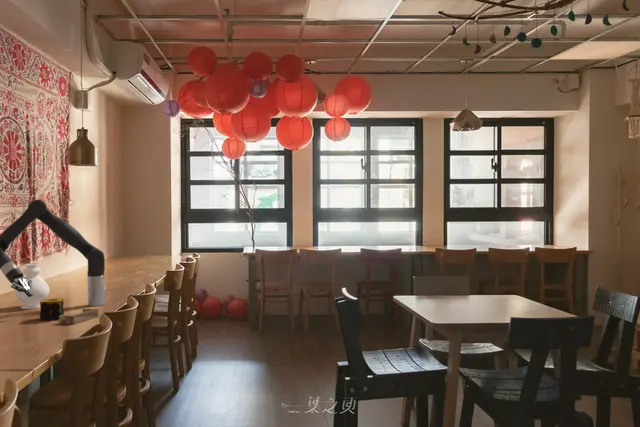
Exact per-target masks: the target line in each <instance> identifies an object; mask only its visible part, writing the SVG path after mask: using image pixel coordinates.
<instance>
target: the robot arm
mask: <svg viewBox="0 0 640 427" xmlns="http://www.w3.org/2000/svg"><path fill="white" fill-rule="evenodd" d="M47 206H48V205H47V204H46V202H45V201H44V200H42V199H34V200H32V201H31V202H29V203H28V205H27V208H26V210H25V211H24V212H23V213H22V214H21V215H20V216H19V217H18V218H17V219H15V221H14V222H12V223H11V224H10V225H8V226H7V227H6V228H5V229H4V231H2V232H1V233H0V271H1V273H2V275H3V276H5V278H6V279H7V281H8V282H9V283H11V285H10V288H12V289H14V290H15V291H16V290H17V291H19V292H25V294H26V295H27V296H28V297H31V296H32V295H33V293H32V292H31V290H30V288H31V287H32V281H31V280H29V281H28V280H26V278H25V277H24V273H23V271H22V270H20V268H19V267H18V265H16V264H15V262H14V261H13V260H12V259H11V258H10V257H9V256H8V255H7V254H6V251H7V250H8V248H9V246H10V245H11V244H12V243H13V242H14V241H15V240H16V239H17V238H18V237H19V236H20V235H21V234H22V233H23V231H24V230H25V229H26V228H27V227H28V226H30V224H32V223H33V222H34V221H35V220H36V219H37V220H39V221H40V222H42V224H44V225H45V226H47V227H48V228H49V229H50V231H52V232H53V234H55V235H56V236H57V237H59V239H61V240H62V241H63V242H65V243H66V244H67V245H69V246H70V247H71V248H73V249H75V250H77V251H78V252H79V253H80V254H82V256H83V257H84V258H85V259H86V260H87V272H86V273H87V305H88V306H90V307H92V306H93V307H96V306H103V305H106V304H107V288H106V287H105V270H106V268H105V264H106V263H105V262H106V259H105V258H106V257H105V253H104V252H103V250H101V249H100V248H97V247H95V246H94V245H93V244H91V243H90V242H89V241H87V239H86V238H85V237H84V236H83V235H82V234H81V233H80V232H79V231H78V229H76V228H75V227H73V226H72V225H71V224H70V223H69V222H67V221H66V220H64V219H62V218H61V217H58V216H57V215H56V214H54V213H53V212H52V211H51V210H50V209H49V208H48V207H47ZM18 288H19V289H18Z"/></svg>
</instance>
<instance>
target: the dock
mask: <svg viewBox="0 0 640 427" xmlns="http://www.w3.org/2000/svg"><path fill="white" fill-rule="evenodd" d="M99 310H100V309H99V308H84V307H83V308H82V312H80V313H77V314H73V315H69V314H67V315H66V314H64V315H60V316H59V321H58V322H59V323H65V324H64V325H77V324H80V323H82V322H86V321H89V319H90V320H93V319H96V318H99V316H100V315H99V314H100V311H99Z"/></svg>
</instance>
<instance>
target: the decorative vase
mask: <svg viewBox="0 0 640 427" xmlns="http://www.w3.org/2000/svg"><path fill="white" fill-rule="evenodd" d="M24 266H25V268H24V269H22V273H23V275H25V277H24V278H26V280H28V281H29V280H31V281H32V287H31V288H30V290H31V292H32V293H33V295H32V296H31V297H28V296H27V295H26V294H25V292H19V291H17V290H15V296H16V298H17V299H18V300H19V301H20V302H21V303H22V304H23V305H21V306H20V309H23V310H31V309H33V310H34V309H39V308H40V309H41V307H40V301H42V300H43V299H47V297H48V295H50V291H51V290H50V286H49V284H48V283H47V282H46V281H45V280H44V279H43V278H42V277H41V276H40V274H41V272H42V269H41V267H40V263H34V262H33V263H25V264H24ZM18 289H19V288H18Z"/></svg>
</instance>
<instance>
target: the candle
mask: <svg viewBox="0 0 640 427" xmlns="http://www.w3.org/2000/svg"><path fill="white" fill-rule="evenodd" d="M64 302H65V299H64V297H59V298H58V297H57V298H56V297H52V298H46V299H43V300H42V301H40V311H39V321H41V322H43V321H42V320H47V321H56V320H55V319H59V316H60V315H65V314H64V312H65V310H64Z"/></svg>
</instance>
